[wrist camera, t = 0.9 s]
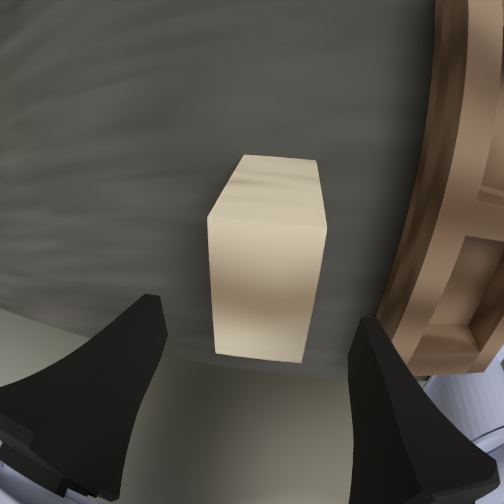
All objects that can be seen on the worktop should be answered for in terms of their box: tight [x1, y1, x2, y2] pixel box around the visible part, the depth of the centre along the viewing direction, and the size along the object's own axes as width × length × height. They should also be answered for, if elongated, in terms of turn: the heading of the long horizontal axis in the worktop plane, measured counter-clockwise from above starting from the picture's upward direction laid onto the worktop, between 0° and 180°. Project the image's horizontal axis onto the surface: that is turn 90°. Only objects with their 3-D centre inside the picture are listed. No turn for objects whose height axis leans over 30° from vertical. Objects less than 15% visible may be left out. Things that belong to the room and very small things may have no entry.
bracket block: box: [207, 155, 327, 363], centre depth 16 cm, size 7×4×8 cm, turn 178°
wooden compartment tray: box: [375, 0, 504, 376], centre depth 15 cm, size 25×10×4 cm, turn 178°
